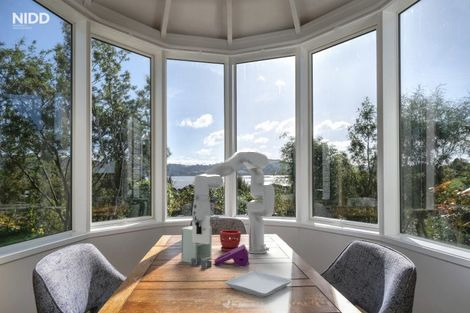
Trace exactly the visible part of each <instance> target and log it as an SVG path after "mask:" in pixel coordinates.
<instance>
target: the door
mask: <svg viewBox="0 0 470 313" xmlns="http://www.w3.org/2000/svg"><path fill="white" fill-rule="evenodd" d="M191 223H192V225H191V226H192V242H196V243H202V244H210V226H211V218H210V216H204V220H203V221H201V227H202V234H196V225H195V223H193V222H192V221H191ZM198 223H199V222H198Z"/></svg>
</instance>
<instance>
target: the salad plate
mask: <svg viewBox="0 0 470 313" xmlns="http://www.w3.org/2000/svg"><path fill="white" fill-rule="evenodd" d="M292 281H293V280H292V279H289V278H286V277H283V276H278V275H275V274H272V273H271V274H270V273H265V272H262V271H261V272H260V271H256V270H251V271H249V272H246V273H243V274H241V275H238V276H236V277H234V278H231V279H228V280H226V281H225V282H224V283H225V285H227V287H229V288H231V289H234V290H236V291H239V292H243V293H247V294H250V295H253V296H256V297H261V298H262V297H263V298H265V297H267V296H269V295H272V294H274V293H275V292H277V291H279V290H281V289H283V288H285V287H287V286H289V285H290V284H291V282H292Z"/></svg>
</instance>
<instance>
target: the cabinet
mask: <svg viewBox="0 0 470 313" xmlns="http://www.w3.org/2000/svg"><path fill="white" fill-rule="evenodd" d="M212 232H213V231H212V225H210V244H202V243H196V242H192V225H189V226H186V227H182V228H181V259H180V260H181V262H183V263H184V262H185V263H188V264H191V258H195V259H196V264H197V258H200V259H201V260H204V261H207V260H210V259H212V253H213V252H212V239H213V238H212V235H213V234H212Z"/></svg>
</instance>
